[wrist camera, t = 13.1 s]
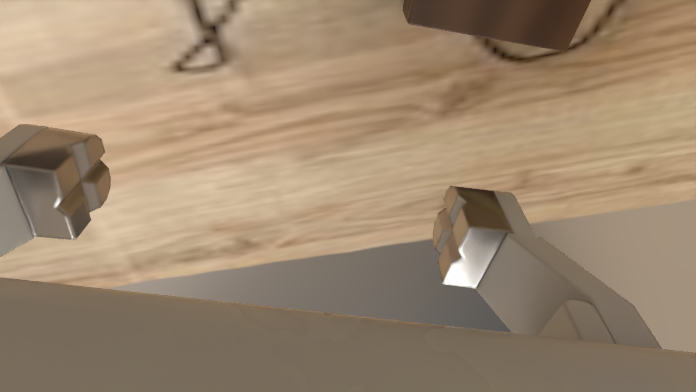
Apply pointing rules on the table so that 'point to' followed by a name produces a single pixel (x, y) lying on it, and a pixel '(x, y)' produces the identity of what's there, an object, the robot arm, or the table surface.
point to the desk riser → (503, 19)
